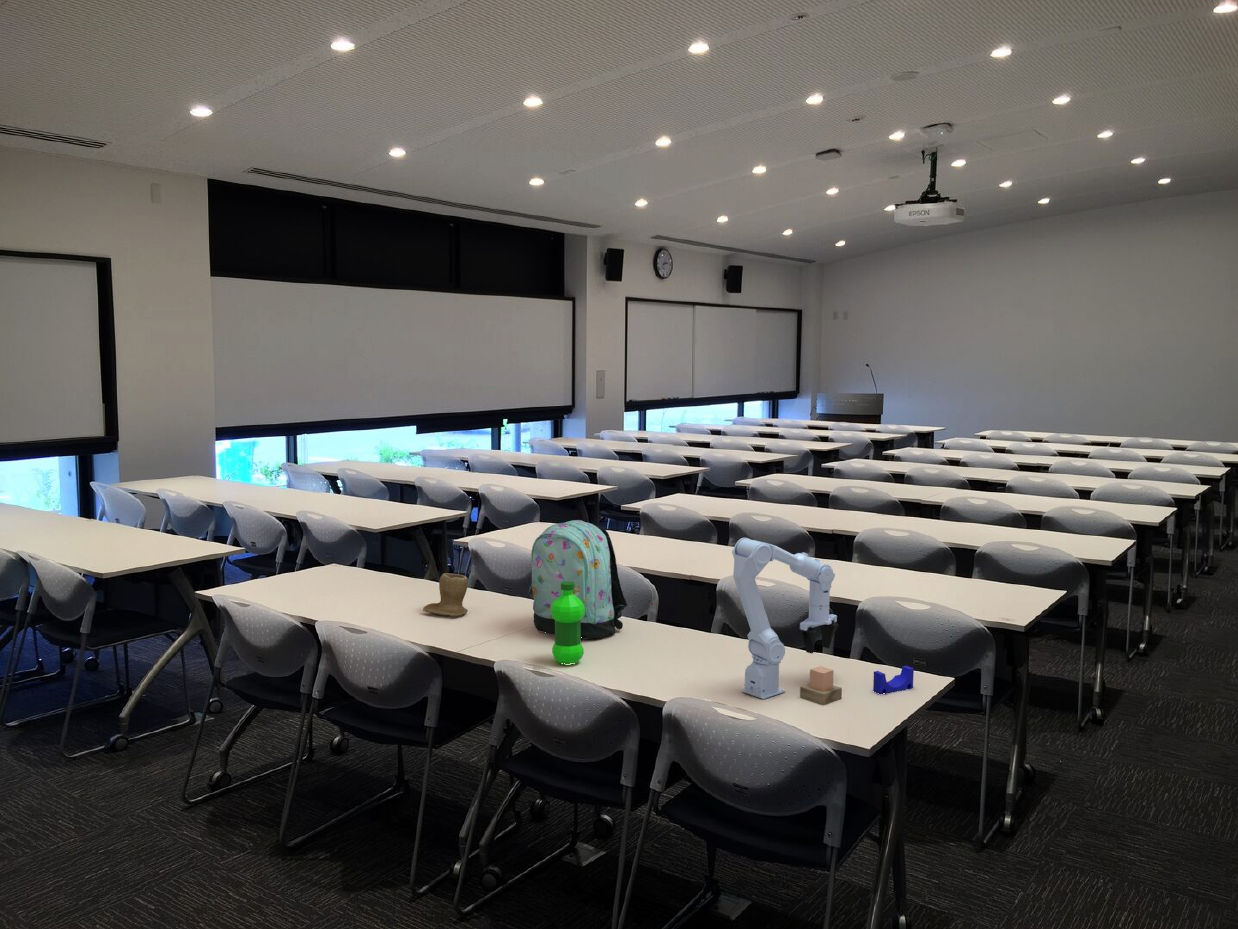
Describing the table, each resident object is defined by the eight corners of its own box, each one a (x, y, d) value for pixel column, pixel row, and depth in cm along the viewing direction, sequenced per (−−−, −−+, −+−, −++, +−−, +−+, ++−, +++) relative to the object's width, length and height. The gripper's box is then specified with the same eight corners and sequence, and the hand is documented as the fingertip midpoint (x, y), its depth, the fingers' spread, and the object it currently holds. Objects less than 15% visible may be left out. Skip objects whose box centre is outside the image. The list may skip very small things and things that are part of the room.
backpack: (515, 638, 317) (514, 524, 313) (546, 619, 340) (545, 513, 336) (604, 648, 306) (604, 530, 302) (630, 628, 329) (631, 519, 324)
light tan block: (822, 691, 258) (823, 673, 258) (809, 687, 262) (810, 669, 261) (833, 687, 261) (833, 670, 260) (819, 683, 264) (820, 666, 264)
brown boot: (475, 613, 349) (474, 572, 347) (455, 620, 338) (454, 579, 337) (442, 607, 356) (441, 568, 354) (421, 615, 345) (421, 574, 344)
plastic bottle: (568, 670, 284) (568, 588, 281) (544, 663, 291) (543, 583, 288) (591, 662, 291) (591, 583, 289) (567, 655, 298) (567, 577, 296)
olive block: (823, 705, 256) (823, 694, 256) (800, 697, 262) (800, 686, 262) (841, 698, 261) (841, 687, 261) (818, 690, 267) (818, 680, 267)
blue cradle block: (901, 684, 274) (902, 664, 273) (912, 689, 270) (913, 668, 269) (869, 690, 268) (870, 670, 268) (880, 695, 264) (881, 674, 264)
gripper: (814, 611, 265) (813, 658, 266) (845, 602, 274) (844, 648, 276) (794, 606, 270) (793, 652, 272) (826, 598, 279) (824, 642, 281)
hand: (817, 650), depth 274 cm, fingers open, 7 cm apart
